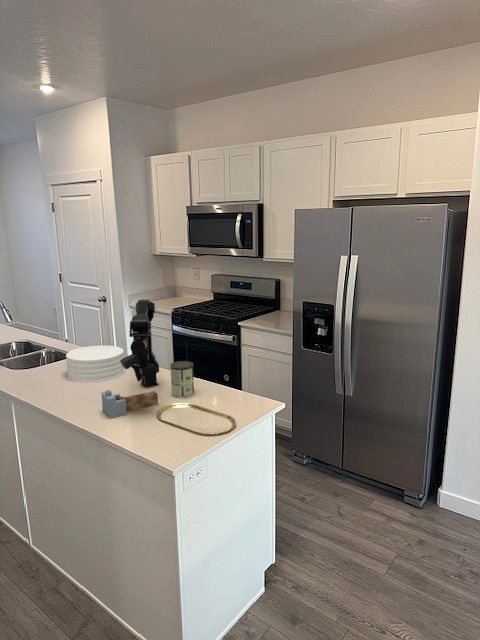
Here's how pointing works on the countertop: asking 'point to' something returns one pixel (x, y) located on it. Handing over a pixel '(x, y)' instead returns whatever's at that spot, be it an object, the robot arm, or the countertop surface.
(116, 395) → the stepped blue block
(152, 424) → the countertop surface
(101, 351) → the plate stack
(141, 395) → the brown wooden bar
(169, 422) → the serving platter
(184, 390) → the coffee can
